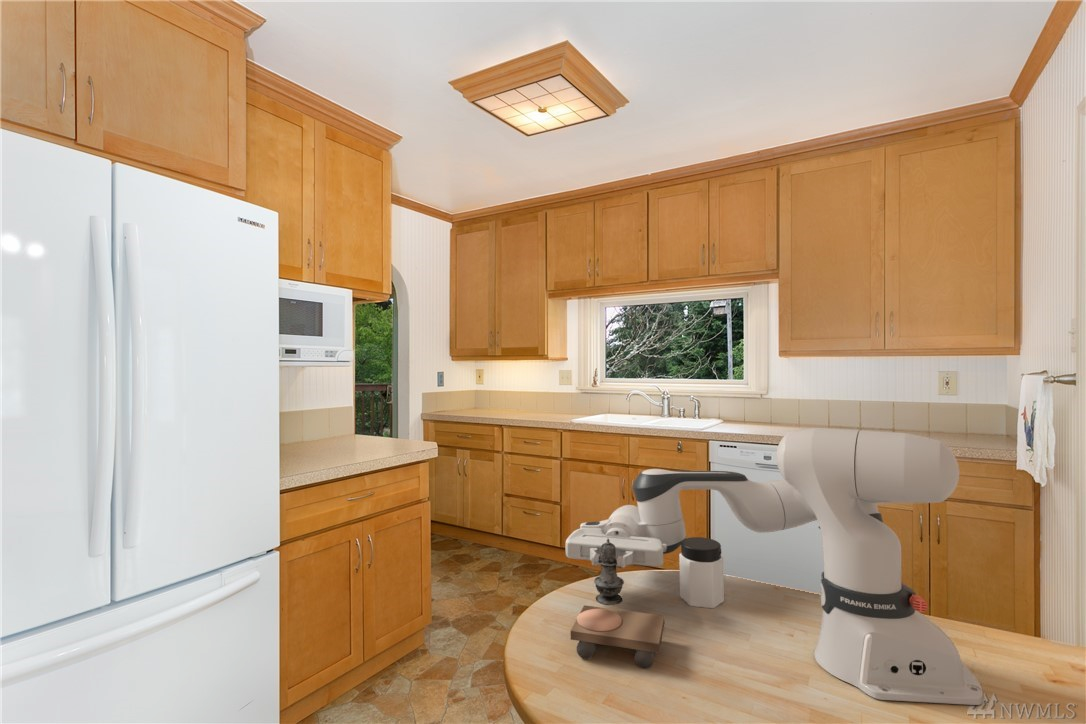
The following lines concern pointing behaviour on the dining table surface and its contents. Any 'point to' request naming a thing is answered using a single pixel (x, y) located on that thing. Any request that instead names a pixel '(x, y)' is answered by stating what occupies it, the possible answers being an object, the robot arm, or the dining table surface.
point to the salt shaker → (608, 577)
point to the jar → (701, 572)
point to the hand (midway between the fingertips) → (607, 562)
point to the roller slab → (618, 632)
